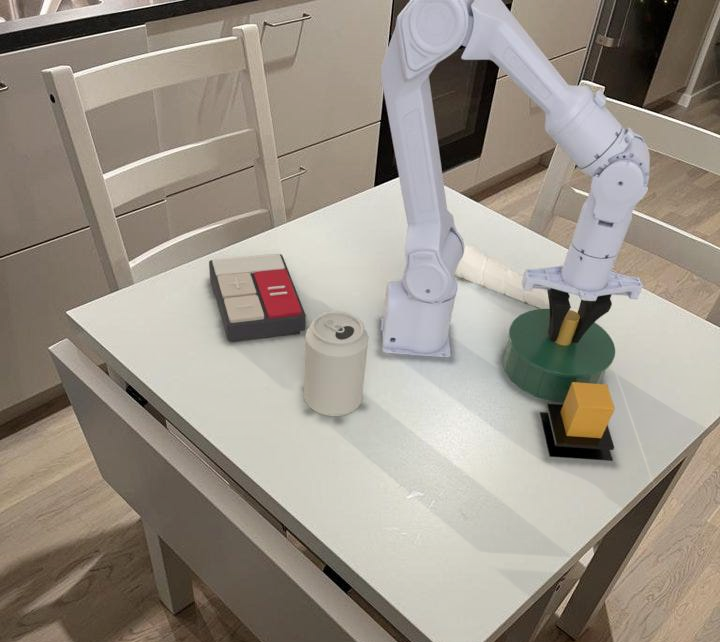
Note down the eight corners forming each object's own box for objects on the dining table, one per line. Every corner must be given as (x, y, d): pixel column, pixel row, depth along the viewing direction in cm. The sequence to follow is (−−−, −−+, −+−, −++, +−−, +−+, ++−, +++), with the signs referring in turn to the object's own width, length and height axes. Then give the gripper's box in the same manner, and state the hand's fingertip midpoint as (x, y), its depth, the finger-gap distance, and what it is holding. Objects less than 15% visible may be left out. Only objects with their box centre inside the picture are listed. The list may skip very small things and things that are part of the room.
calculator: (226, 321, 98) (207, 255, 106) (228, 346, 101) (209, 280, 110) (306, 312, 101) (282, 248, 109) (305, 336, 104) (281, 273, 113)
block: (566, 436, 90) (578, 406, 86) (560, 411, 93) (571, 381, 89) (601, 438, 90) (615, 408, 87) (594, 414, 93) (607, 384, 89)
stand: (548, 459, 91) (553, 445, 89) (538, 415, 96) (543, 401, 94) (611, 463, 91) (618, 450, 89) (598, 419, 96) (604, 405, 94)
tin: (508, 401, 97) (517, 371, 93) (497, 338, 106) (505, 309, 102) (607, 408, 98) (620, 379, 94) (588, 345, 107) (599, 316, 103)
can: (341, 429, 91) (347, 353, 82) (292, 404, 93) (293, 328, 84) (372, 397, 96) (381, 321, 87) (324, 374, 98) (329, 298, 89)
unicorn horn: (585, 341, 107) (595, 314, 104) (448, 278, 116) (453, 251, 112) (598, 326, 110) (609, 299, 107) (463, 266, 118) (468, 239, 115)
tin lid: (514, 377, 94) (524, 345, 90) (501, 311, 103) (510, 280, 99) (623, 385, 94) (637, 354, 91) (600, 318, 104) (612, 288, 100)
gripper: (540, 259, 84) (512, 352, 95) (663, 268, 85) (622, 360, 95) (531, 227, 89) (506, 319, 99) (648, 236, 90) (611, 327, 100)
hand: (562, 337), depth 98 cm, fingers closed on tin lid, 2 cm apart
